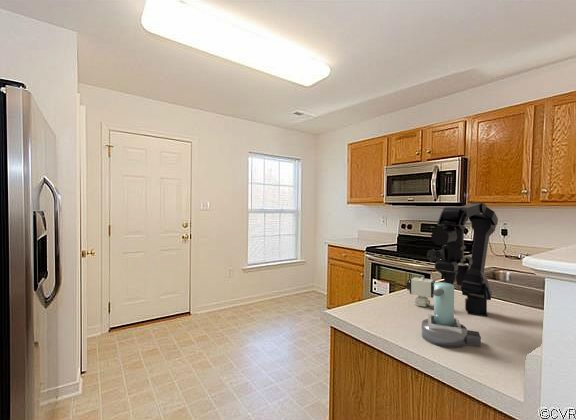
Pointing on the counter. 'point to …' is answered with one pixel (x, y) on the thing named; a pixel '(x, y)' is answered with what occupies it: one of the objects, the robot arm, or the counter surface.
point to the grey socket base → (449, 334)
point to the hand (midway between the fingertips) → (454, 287)
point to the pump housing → (444, 304)
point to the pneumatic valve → (421, 290)
